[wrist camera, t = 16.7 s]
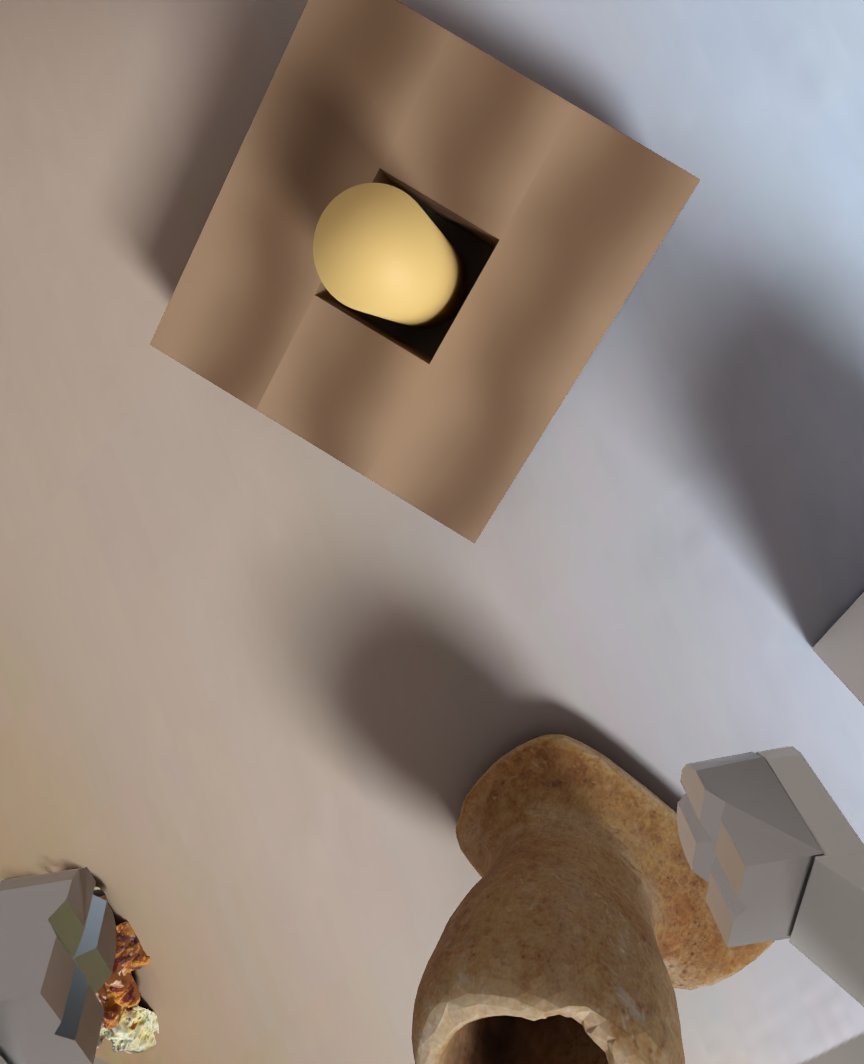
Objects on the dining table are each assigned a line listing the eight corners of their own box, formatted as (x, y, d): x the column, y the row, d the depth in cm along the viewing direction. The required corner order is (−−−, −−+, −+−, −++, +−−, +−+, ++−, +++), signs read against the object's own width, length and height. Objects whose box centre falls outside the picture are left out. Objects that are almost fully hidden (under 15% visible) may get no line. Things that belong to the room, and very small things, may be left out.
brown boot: (406, 836, 42) (328, 1078, 28) (558, 691, 39) (558, 877, 25) (613, 1020, 43) (642, 1354, 28) (779, 889, 40) (907, 1187, 25)
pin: (363, 299, 36) (292, 273, 26) (406, 217, 35) (349, 158, 25) (438, 345, 35) (394, 335, 26) (483, 264, 34) (456, 222, 25)
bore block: (210, 348, 39) (149, 344, 33) (365, 28, 35) (327, -41, 29) (487, 517, 38) (474, 543, 32) (676, 212, 34) (700, 179, 28)
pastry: (109, 1055, 49) (75, 1106, 46) (11, 897, 48) (-31, 937, 45) (197, 1024, 48) (169, 1074, 44) (98, 860, 46) (62, 898, 43)
